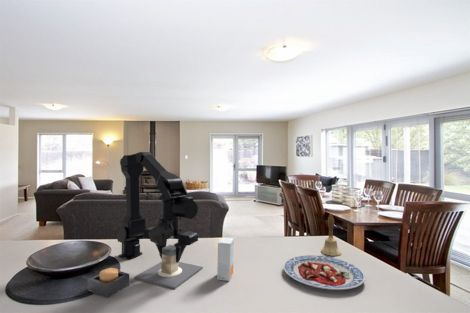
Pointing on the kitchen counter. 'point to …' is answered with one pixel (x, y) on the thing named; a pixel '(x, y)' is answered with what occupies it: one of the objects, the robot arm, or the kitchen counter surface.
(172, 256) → the spice jar
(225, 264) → the skincare box
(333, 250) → the hand bell
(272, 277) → the kitchen counter surface
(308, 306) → the kitchen counter surface
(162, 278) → the mat
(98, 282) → the button box
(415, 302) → the kitchen counter surface
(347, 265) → the ceramic plate
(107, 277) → the button
